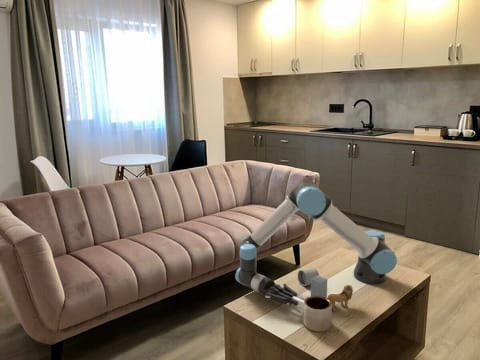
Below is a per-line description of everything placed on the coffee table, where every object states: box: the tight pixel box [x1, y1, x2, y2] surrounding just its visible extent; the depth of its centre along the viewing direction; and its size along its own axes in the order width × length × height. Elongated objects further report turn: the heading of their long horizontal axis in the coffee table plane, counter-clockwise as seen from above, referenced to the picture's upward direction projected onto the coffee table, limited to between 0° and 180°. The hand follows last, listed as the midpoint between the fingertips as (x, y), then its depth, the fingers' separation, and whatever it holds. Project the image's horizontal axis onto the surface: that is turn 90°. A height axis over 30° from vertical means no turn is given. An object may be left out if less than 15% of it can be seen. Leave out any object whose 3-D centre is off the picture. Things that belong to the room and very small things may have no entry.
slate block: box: [310, 275, 328, 298], centre depth 172 cm, size 5×5×10 cm
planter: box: [302, 295, 333, 332], centre depth 154 cm, size 11×11×10 cm
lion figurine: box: [327, 284, 354, 312], centre depth 166 cm, size 15×5×9 cm, turn 117°
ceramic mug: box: [297, 267, 320, 287], centre depth 188 cm, size 11×8×8 cm
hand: (305, 305), depth 157 cm, fingers closed
